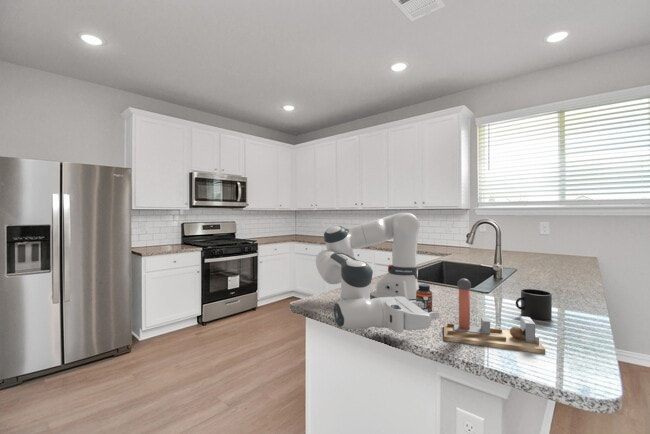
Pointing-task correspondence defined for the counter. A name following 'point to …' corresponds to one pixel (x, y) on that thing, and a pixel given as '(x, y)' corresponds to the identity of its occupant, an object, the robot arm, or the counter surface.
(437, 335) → the counter surface
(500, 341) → the wooden base board
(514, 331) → the walnut
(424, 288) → the supplement bottle
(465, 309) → the lever
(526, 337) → the block
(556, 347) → the counter surface
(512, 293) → the counter surface
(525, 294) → the mug
